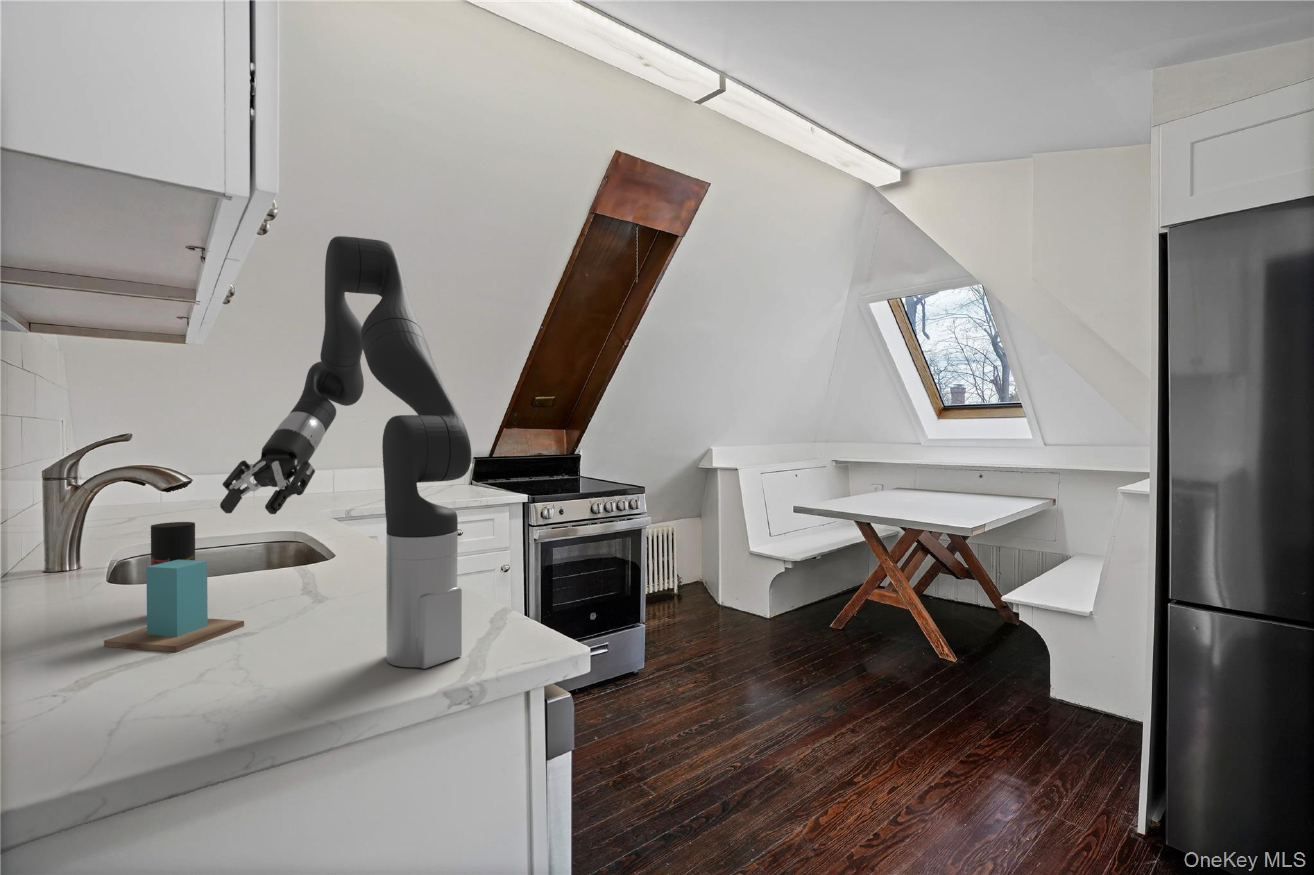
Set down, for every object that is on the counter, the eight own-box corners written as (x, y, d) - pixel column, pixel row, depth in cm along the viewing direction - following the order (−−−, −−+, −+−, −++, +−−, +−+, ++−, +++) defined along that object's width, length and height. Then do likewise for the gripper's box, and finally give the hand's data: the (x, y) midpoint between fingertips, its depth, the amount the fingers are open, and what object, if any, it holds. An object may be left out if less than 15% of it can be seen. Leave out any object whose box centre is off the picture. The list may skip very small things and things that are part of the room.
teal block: (207, 626, 101) (207, 561, 101) (177, 636, 96) (176, 568, 96) (178, 623, 102) (178, 559, 102) (147, 634, 97) (146, 566, 96)
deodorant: (158, 621, 105) (157, 528, 105) (145, 615, 109) (145, 524, 109) (201, 613, 110) (200, 524, 110) (187, 607, 114) (187, 520, 113)
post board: (244, 625, 104) (243, 576, 103) (176, 651, 92) (176, 596, 92) (178, 621, 106) (177, 573, 105) (103, 646, 94) (103, 591, 94)
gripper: (249, 427, 120) (196, 496, 109) (319, 427, 118) (272, 497, 107) (271, 455, 126) (222, 523, 114) (339, 455, 123) (296, 525, 112)
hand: (247, 510), depth 111 cm, fingers open, 8 cm apart
